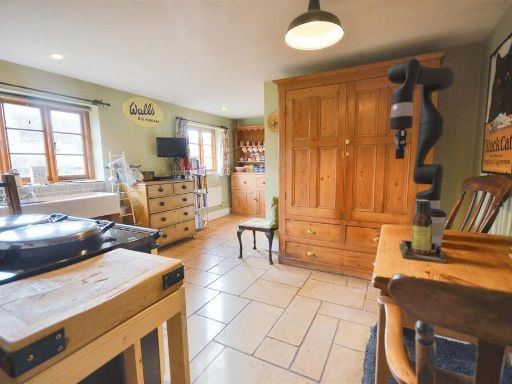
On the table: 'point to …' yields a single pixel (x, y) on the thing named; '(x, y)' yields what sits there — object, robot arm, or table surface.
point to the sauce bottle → (422, 229)
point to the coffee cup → (437, 225)
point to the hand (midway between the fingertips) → (399, 158)
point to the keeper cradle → (434, 256)
